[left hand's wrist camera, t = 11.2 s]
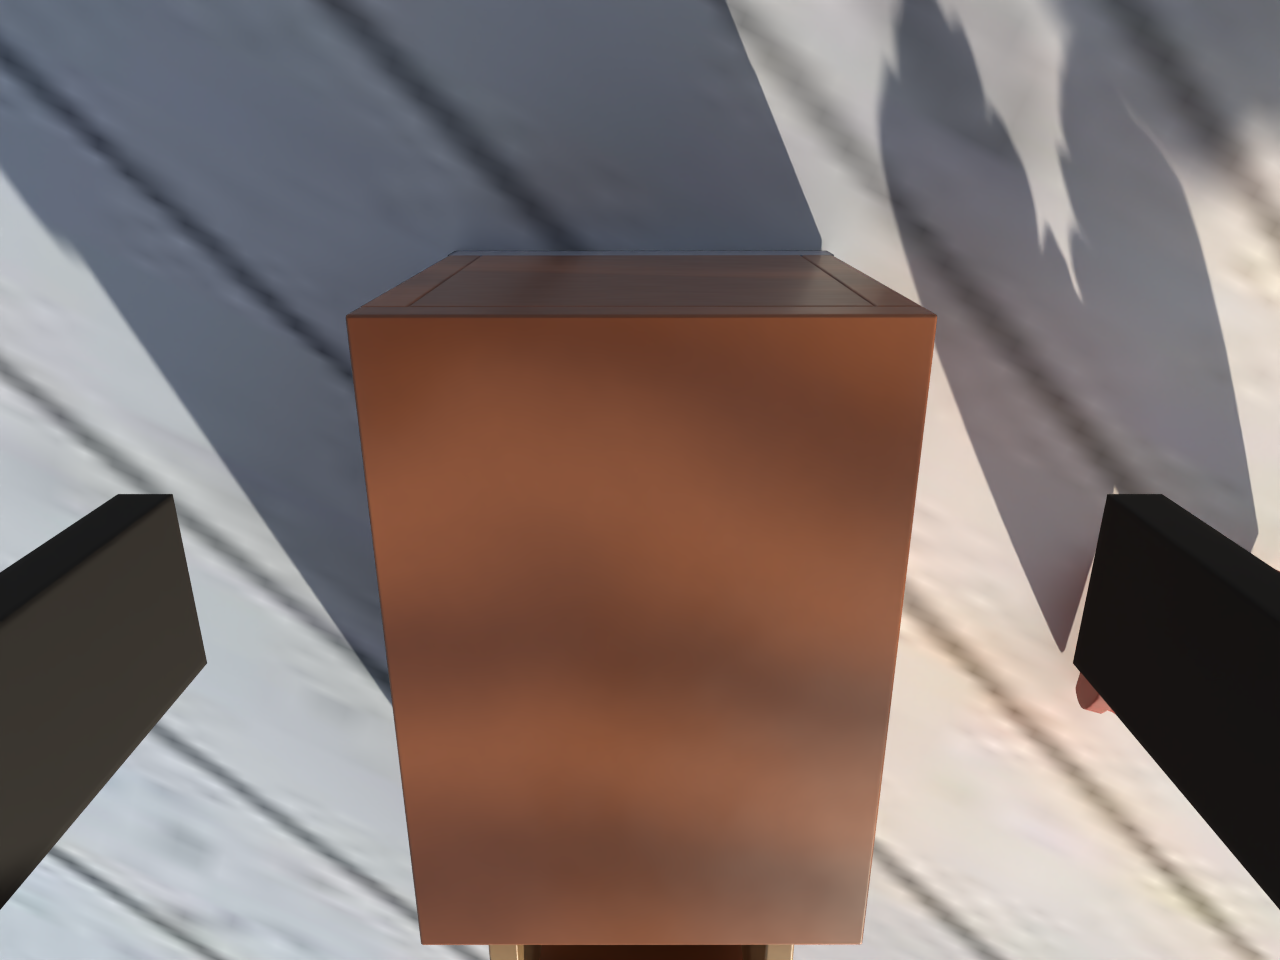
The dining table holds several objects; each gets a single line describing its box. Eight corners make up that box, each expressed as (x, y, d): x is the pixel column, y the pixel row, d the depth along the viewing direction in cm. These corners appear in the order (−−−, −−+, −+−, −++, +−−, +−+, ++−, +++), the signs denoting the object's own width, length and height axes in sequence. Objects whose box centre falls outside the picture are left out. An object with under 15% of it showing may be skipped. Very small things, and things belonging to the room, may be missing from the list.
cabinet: (794, 699, 32) (862, 945, 22) (488, 699, 32) (420, 946, 22) (826, 250, 27) (939, 313, 17) (454, 251, 27) (343, 313, 17)
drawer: (762, 1005, 37) (796, 1252, 28) (520, 1005, 37) (486, 1252, 28) (791, 571, 29) (849, 734, 21) (490, 571, 29) (433, 735, 21)
